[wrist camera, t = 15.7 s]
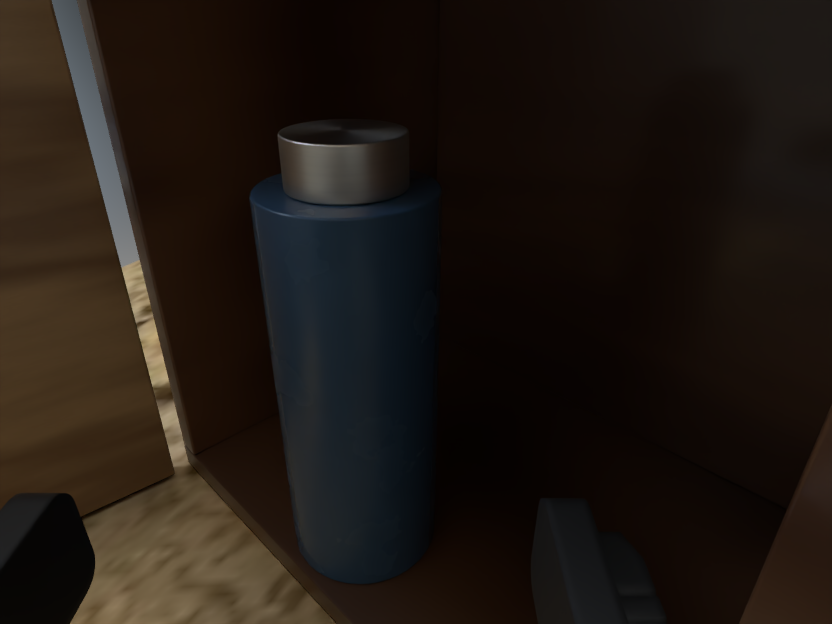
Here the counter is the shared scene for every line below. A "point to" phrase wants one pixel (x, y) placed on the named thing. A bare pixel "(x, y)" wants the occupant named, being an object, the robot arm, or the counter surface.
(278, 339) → the water bottle
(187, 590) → the counter surface
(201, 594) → the counter surface
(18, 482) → the cupboard door
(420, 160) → the cupboard
